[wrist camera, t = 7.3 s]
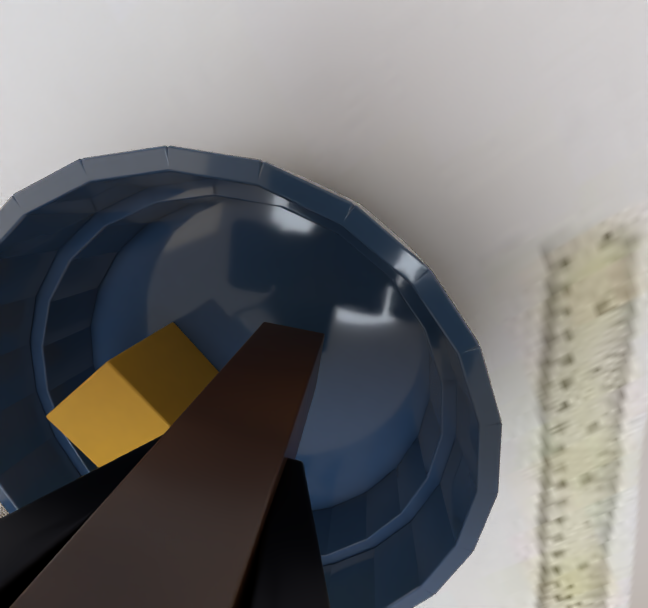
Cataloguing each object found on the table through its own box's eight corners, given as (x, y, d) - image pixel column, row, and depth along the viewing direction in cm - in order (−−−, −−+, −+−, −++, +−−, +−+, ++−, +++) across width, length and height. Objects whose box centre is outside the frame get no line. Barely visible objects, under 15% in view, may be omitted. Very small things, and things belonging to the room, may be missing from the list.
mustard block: (177, 424, 17) (120, 490, 13) (120, 366, 16) (43, 416, 12) (232, 385, 15) (187, 444, 12) (173, 320, 15) (106, 361, 11)
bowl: (93, 476, 19) (-9, 577, 14) (65, 139, 14) (-122, 99, 8) (400, 551, 18) (413, 695, 13) (510, 210, 12) (616, 215, 7)
